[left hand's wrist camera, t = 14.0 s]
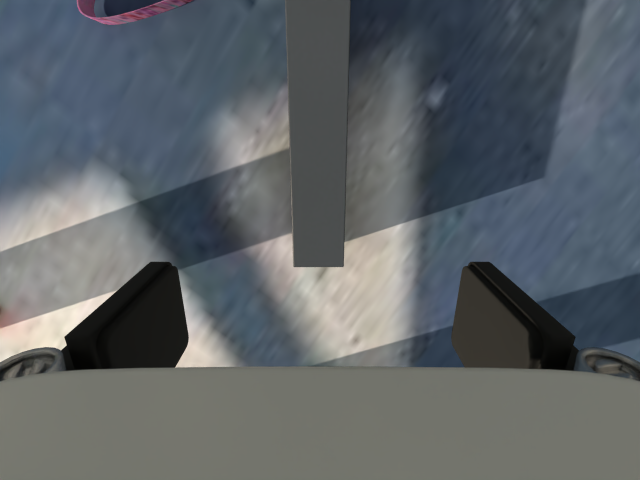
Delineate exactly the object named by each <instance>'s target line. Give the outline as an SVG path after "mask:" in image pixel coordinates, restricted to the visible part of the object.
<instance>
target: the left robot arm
mask: <svg viewBox="0 0 640 480" xmlns="http://www.w3.org/2000/svg"><path fill="white" fill-rule="evenodd" d="M188 338H189V337H188V330H187V323H186V317H185V311H184V305H183V299H182V293H181V287H180V280H179V274H178V269H177V267H175V266H172V264H171V263H170V262H150V263H149V264H147V265H146V266H145V267H144V268H143V269H142V270H141V271H139V272H138V273H137V274H136V275H135V276H134V277H133V278H131V279H130V280H129V281H128V282H127V283H126V284H125V285H123V286H122V287H121V288H120V289H119V290H118V291H117V292H115V293H114V294H113V295H112V296H111V297H110V298H108V299H107V300H106V301H105V302H104V303H103V304H102V305H100V306H99V307H98V308H97V309H96V310H95V311H94V312H92V313H91V314H90V315H89V316H88V317H87V318H86V319H84V320H83V321H82V322H81V323H80V324H79V325H78V326H76V327H75V328H74V329H73V330H72V331H71V332H70V333H68V334H67V335H66V336H65V340H66V344H67V346H66V347H65V348H63V349H62V350H59V349H56V348H49V347H44V348H36V349H32V350H28V351H25V352H22V353H19V354H17V355H14V356H11V357H9V358H8V359H6V360H4V361H2V362H0V480H640V362H638V361H636V360H634V359H632V358H631V357H629V356H626V355H623V354H621V353H618V352H615V351H612V350H608V349H604V348H596V347H591V348H584V349H581V350H578V349H577V348H575V347H574V346H573V344H574V340H575V336H574V335H573V334H572V333H570V332H569V331H568V330H567V329H566V328H565V327H564V326H562V325H561V324H560V323H559V322H558V321H557V320H556V319H554V318H553V317H552V316H551V315H550V314H549V313H548V312H546V311H545V310H544V309H543V308H542V307H541V306H540V305H538V304H537V303H536V302H535V301H534V300H533V299H532V298H530V297H529V296H528V295H527V294H526V293H525V292H523V291H522V290H521V289H520V288H519V287H518V286H517V285H515V284H514V283H513V282H512V281H511V280H510V279H509V278H507V277H506V276H505V275H504V274H503V273H502V272H501V271H499V270H498V269H497V268H496V267H495V266H494V265H493V264H491V263H490V262H470V263H469V264H468V266H465V267H463V269H462V274H461V280H460V287H459V293H458V299H457V305H456V311H455V317H454V323H453V330H452V337H451V338H452V345H453V347H454V349H455V351H456V353H457V354H458V356H459V358H460V360H461V361H462V363H463V365H464V367H465V368H451V367H191V368H175V367H176V365H177V363H178V361H179V360H180V358H181V356H182V354H183V353H184V351H185V349H186V347H187V345H188Z"/></svg>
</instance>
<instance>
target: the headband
mask: <svg viewBox="0 0 640 480" xmlns="http://www.w3.org/2000/svg"><path fill="white" fill-rule="evenodd" d="M191 1H193V0H164V1H161V2H158V3H156V4H153V5H150V6H147V7H144V8H141V9H138V10H135V11H131V12H128V13H124V14H120V15H116V16H111V17H104V18H96V16H95V14H94V3H95V0H77V6H78V9H79V11H80V12H81V13H82V14H83V15H85V16H86V17H89V18H91V19H94V20H96V21H98V22H101V23H104V24H109V25H116V24H124V23H129V22H133V21H137V20H140V19H144V18H147V17H150V16H154V15H157V14H160V13H163V12H165V11H168V10H171V9H174V8H176V7H179V6H181V5H184V4H186V3H188V2H191Z"/></svg>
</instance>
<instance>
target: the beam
mask: <svg viewBox="0 0 640 480" xmlns="http://www.w3.org/2000/svg"><path fill="white" fill-rule="evenodd" d="M350 8H351V0H285V9H286V41H287V74H288V106H289V139H290V171H291V203H292V236H293V266H294V267H343V266H344V233H345V196H346V158H347V121H348V83H349V46H350Z"/></svg>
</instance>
